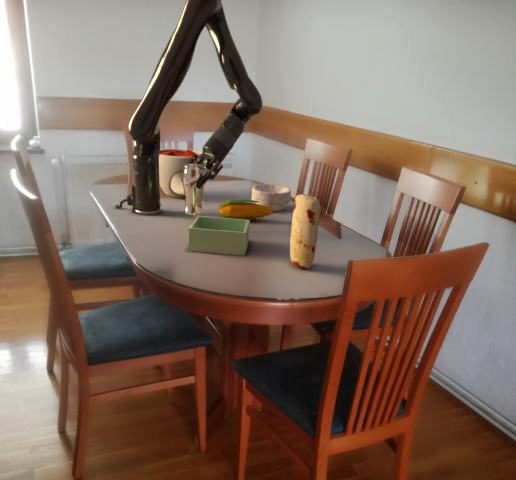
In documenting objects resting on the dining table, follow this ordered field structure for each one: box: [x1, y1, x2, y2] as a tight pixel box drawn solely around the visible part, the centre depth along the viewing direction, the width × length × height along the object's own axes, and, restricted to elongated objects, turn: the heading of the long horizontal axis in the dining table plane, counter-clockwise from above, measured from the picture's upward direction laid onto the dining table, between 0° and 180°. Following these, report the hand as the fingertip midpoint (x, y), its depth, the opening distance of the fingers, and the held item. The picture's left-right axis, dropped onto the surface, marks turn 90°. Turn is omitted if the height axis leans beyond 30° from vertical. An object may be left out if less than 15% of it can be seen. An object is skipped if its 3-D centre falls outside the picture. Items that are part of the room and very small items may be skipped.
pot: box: [159, 148, 208, 199], centre depth 212 cm, size 24×24×18 cm
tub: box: [188, 215, 251, 256], centre depth 159 cm, size 17×15×7 cm
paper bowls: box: [251, 184, 292, 212], centre depth 205 cm, size 15×15×8 cm
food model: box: [289, 193, 321, 270], centre depth 144 cm, size 10×7×20 cm
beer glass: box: [183, 164, 206, 216], centre depth 169 cm, size 7×7×15 cm
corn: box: [218, 199, 274, 222], centre depth 187 cm, size 7×8×20 cm
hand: (189, 184), depth 167 cm, fingers closed on beer glass, 7 cm apart
